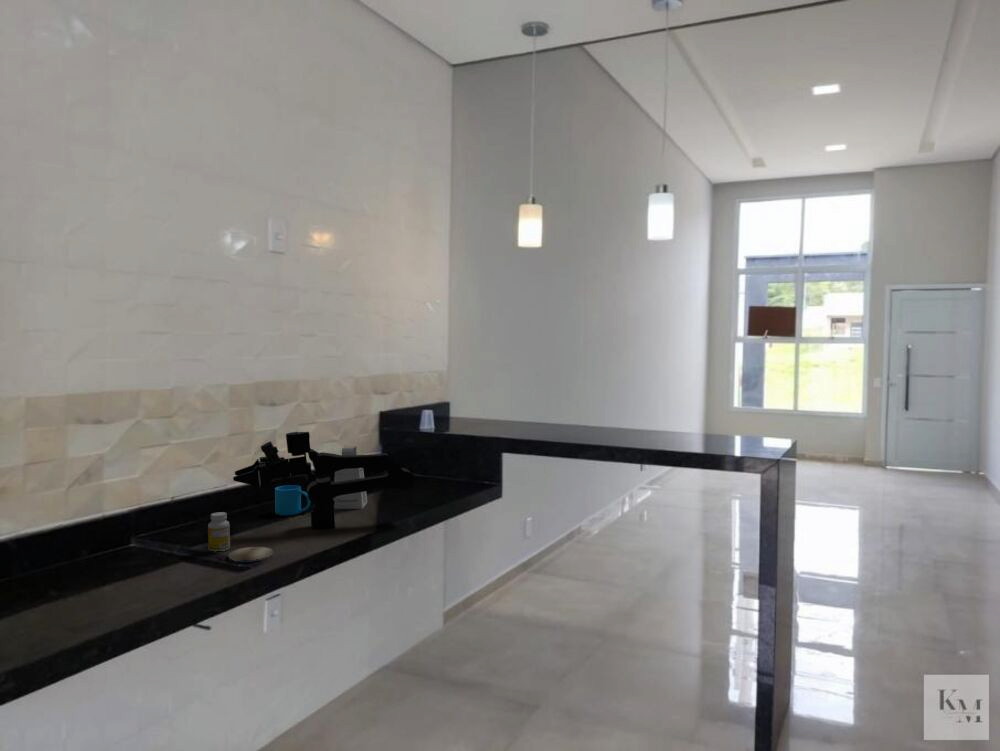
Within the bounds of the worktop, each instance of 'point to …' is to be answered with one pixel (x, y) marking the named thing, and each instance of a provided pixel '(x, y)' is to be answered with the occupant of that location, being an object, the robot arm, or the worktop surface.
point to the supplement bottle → (219, 532)
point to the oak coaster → (250, 553)
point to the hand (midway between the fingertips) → (234, 476)
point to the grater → (350, 474)
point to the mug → (289, 500)
